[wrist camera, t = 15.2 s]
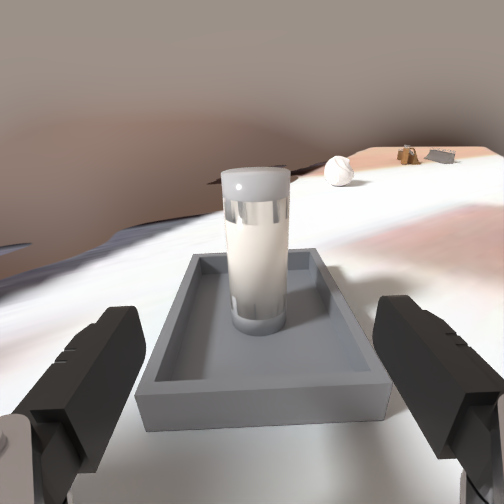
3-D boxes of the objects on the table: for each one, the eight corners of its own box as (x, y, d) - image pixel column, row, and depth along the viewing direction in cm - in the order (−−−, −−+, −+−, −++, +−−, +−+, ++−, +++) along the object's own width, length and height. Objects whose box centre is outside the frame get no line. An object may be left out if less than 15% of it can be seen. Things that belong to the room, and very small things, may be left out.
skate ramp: (474, 167, 96) (480, 144, 93) (369, 169, 102) (372, 148, 99) (437, 158, 122) (441, 139, 119) (355, 160, 128) (357, 143, 125)
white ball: (351, 189, 70) (354, 157, 67) (321, 188, 73) (322, 157, 69) (353, 183, 76) (356, 154, 73) (325, 182, 79) (327, 154, 76)
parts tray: (145, 431, 16) (134, 395, 14) (196, 277, 32) (193, 254, 30) (383, 420, 16) (392, 382, 14) (314, 271, 32) (315, 248, 30)
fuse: (230, 336, 21) (217, 178, 16) (233, 302, 25) (224, 167, 20) (289, 335, 21) (295, 175, 16) (282, 301, 25) (285, 166, 20)
